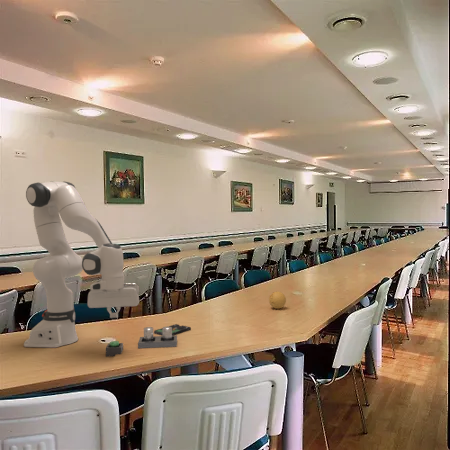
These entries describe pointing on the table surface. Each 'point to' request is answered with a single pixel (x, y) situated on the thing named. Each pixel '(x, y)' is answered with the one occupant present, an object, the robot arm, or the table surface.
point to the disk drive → (174, 330)
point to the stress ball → (277, 300)
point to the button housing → (114, 350)
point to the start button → (114, 343)
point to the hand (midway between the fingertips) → (114, 317)
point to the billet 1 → (148, 334)
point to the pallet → (157, 342)
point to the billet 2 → (167, 333)
